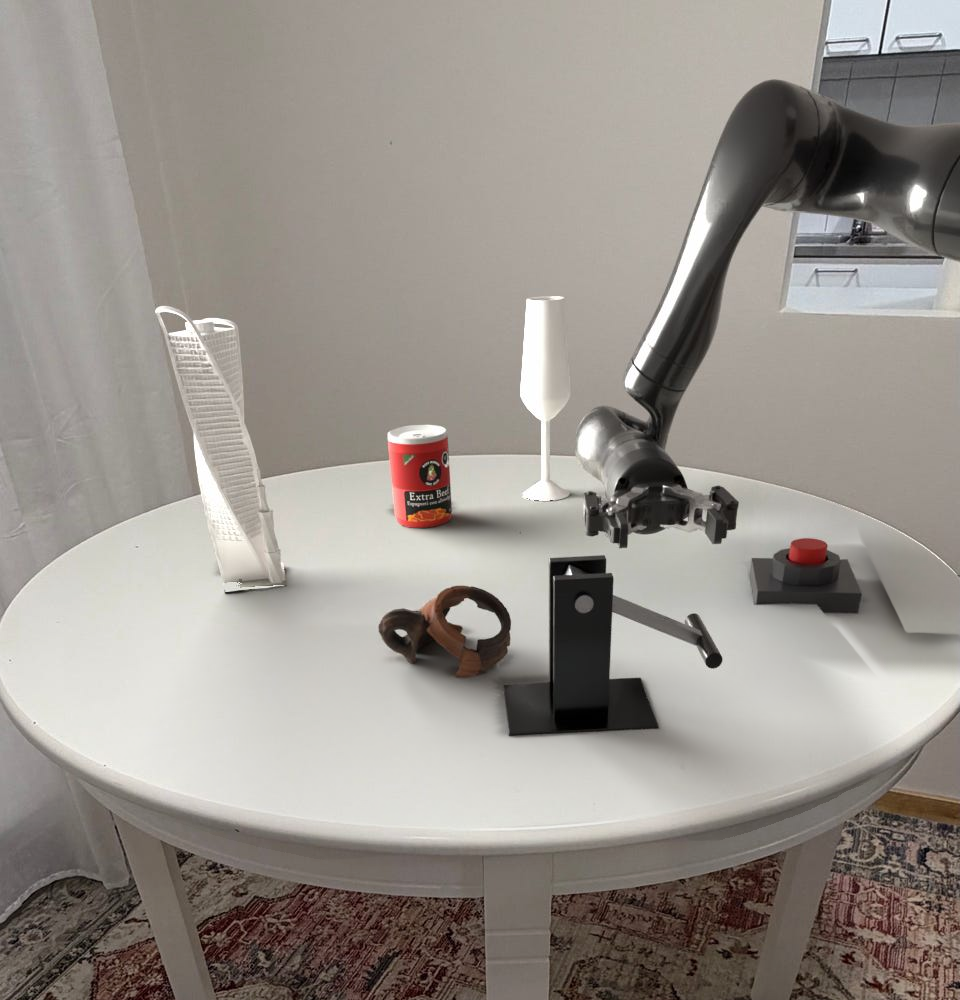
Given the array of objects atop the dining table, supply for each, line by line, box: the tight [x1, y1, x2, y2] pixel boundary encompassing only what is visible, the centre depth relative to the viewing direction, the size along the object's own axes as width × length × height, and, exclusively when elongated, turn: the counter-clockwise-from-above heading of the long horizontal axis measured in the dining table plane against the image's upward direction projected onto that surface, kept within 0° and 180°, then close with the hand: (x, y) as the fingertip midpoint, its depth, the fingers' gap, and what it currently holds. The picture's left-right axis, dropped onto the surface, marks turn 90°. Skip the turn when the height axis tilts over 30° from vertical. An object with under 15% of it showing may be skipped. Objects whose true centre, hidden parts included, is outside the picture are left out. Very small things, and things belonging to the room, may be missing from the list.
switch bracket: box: [503, 554, 660, 737], centre depth 76 cm, size 12×9×13 cm
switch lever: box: [564, 565, 723, 670], centre depth 75 cm, size 13×8×2 cm, turn 91°
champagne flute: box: [519, 295, 572, 502], centre depth 127 cm, size 7×7×24 cm
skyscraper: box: [155, 305, 287, 588], centre depth 103 cm, size 8×8×28 cm
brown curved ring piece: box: [378, 585, 512, 678], centre depth 87 cm, size 12×10×8 cm
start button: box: [788, 537, 828, 565], centre depth 97 cm, size 4×4×2 cm
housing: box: [748, 547, 863, 614], centre depth 99 cm, size 10×10×4 cm
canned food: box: [387, 424, 453, 529], centre depth 124 cm, size 8×8×11 cm
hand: (671, 535), depth 86 cm, fingers open, 8 cm apart
